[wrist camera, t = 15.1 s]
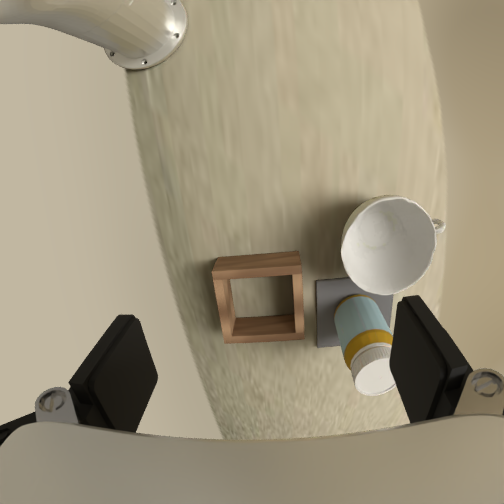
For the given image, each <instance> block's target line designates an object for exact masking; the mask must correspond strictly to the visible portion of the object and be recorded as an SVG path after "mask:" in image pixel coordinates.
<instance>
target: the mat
mask: <svg viewBox="0 0 504 504" xmlns="http://www.w3.org/2000/svg"><path fill="white" fill-rule="evenodd" d="M316 289H317V348H321V347H332V346H341V345H340V341H339V337H338V333H337V330H336V326H335V322H334V313H335V310H336V308H337V306H338V305H339V304H340V303H341V302H342V301H343V300H344V299H346V298H348V297H350V296H353V295H358V294H361V295H366V296H369V297H371V298H372V299H373V300H374V301H375V302H376V304H377V306H378V307H379V309H380V311H381V313H382V315H383V317H384V319H385V321H386V323H387V325H388V327H389V328H390V320H391V312H392V303H393V294H391V295H379V294H373V293H369V292H366V291H364V290H363V289H361V288H359V287H358V286H357V285H356V284H355V283H354V282H353V281H352V280H351V279H350V277H347V278H336V279H324V280H316Z"/></svg>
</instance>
